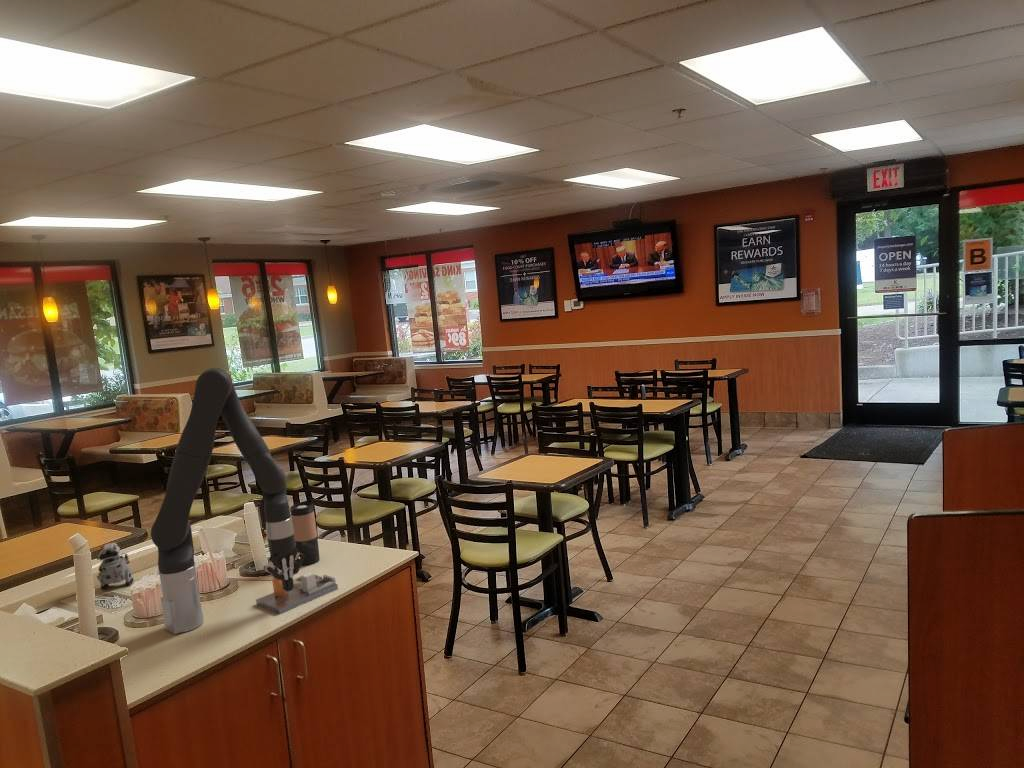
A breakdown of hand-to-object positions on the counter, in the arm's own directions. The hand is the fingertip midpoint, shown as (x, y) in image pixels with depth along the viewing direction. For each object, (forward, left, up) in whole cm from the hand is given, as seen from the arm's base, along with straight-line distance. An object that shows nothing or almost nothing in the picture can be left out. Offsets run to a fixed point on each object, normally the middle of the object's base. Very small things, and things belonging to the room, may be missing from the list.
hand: (288, 590), depth 213 cm
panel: (+4, +3, -4) cm, 7 cm away
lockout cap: (+1, +6, -3) cm, 7 cm away
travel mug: (+23, +27, -5) cm, 36 cm away
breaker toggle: (+7, 0, -3) cm, 7 cm away
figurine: (-25, +68, -5) cm, 72 cm away
